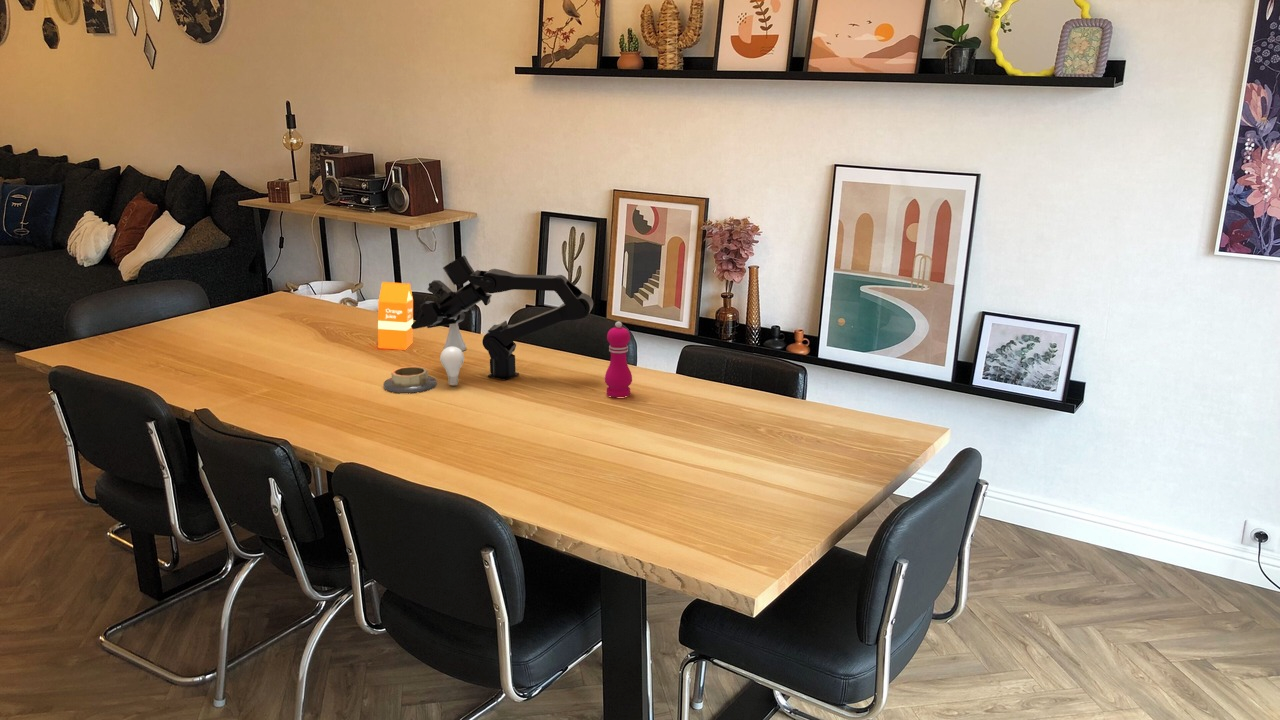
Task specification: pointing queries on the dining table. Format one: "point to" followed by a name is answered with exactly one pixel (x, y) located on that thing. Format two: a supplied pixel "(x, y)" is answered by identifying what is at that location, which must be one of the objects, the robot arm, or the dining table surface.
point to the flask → (454, 337)
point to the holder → (410, 380)
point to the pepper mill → (618, 362)
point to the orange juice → (395, 316)
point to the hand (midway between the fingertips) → (419, 327)
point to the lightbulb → (452, 363)
